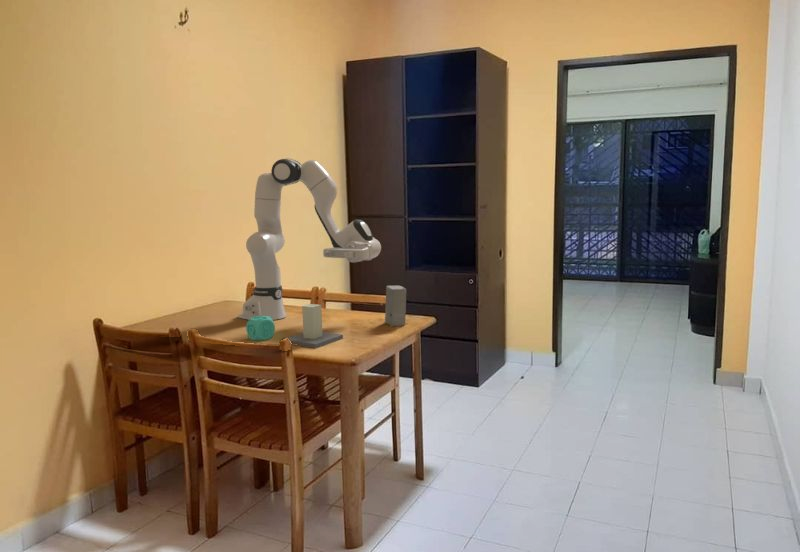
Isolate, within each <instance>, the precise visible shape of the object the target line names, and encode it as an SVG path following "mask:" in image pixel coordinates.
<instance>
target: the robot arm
mask: <svg viewBox="0 0 800 552" xmlns="http://www.w3.org/2000/svg"><path fill="white" fill-rule="evenodd" d="M299 182H301V183H302V184H303V185H304V186H305V187H306V188H307V189H308V191H309V192H310V193H311V196H312V197H313V200H314V211H315V213H316V215H317V218H318V219H319V221H320V222H321V224H322V226H323V228H324V230H325V232H326V234H327V235H328V237H329V239H330V242H331V245H332V247H328V248H323V251H322V252H323V254H322V255H323V257H324V258H332V259H346V260H347V261H348V262H350V263H358V262H363V261H366V262H367V261H372V260H373V259H374V258H376V257H378V256H379V255H380V253H381V251H382V245H381V243H380V241H379V240H378V239H376V238H375V237H374V236H373V231H372V228H371V227H370V226H369V224H368V223H367V222H365V220H364V221H363V220H361V219H354V220H353V221H351V222H350V223H348V224H347V225H346V226H345V227H343V228H342V229H341V230H340V229H339V227H338V225H337V223H336V221H335V219H334V217H333V215H332V208H333V207H332V206H333V204H334V202H335V200H336V198H337V195H338V185H337V183H336V182H335V180H334V179H333V177H332V176H331V175H330V174H329V172H328V171H327V170H326V169H325V168H324V167H323V166H322V164H320V163H319V162H318V161H317V160H314V159H308V160H306V161H305V162H303V163H300V162H299V161H298V160H296V159H292V158H281V159H278V160H276V161H275V162H274V163H273V164H272V166H271V172H264V173H261V174H259V176H258V177H257V181H256V185H255V193H254V213H253V214H254V218H255V220H256V223H257V229H258V231H256V232H253V233H252V234H251V235H250V236H249V237H248V238H247V239H246V243H245V245H246V246H245V247H246V250H247V252H248V253H249V255H250V257H251V262H252V264H253V270H254V278H255V279H254V282H255V286H254V287H252V288H251V290H250V291H251V292H252V295H251V296H250V297H249V298H248V299H247V300H246V301H245V302H244V303H243V305H242V313H241V312H240V313H239V314H237V318H239V319H242V320H243V319H244V320H247V321H248V320H249V319H250V318H252V317H256V316H269V317H270V318H271V319H272V320H273V321H275V320H280V319H285V318H286V317H287V314H286V310H285V305H284V300H283V286H282V280H281V267H280V266H279V264H278V260H277V258H276V254H277V253H279V252H280V251H281V250H282V249H283V247H284V246H285V242H286V241H285V236H284V234H283V229H282V224H281V223H282V222H281V204H282V203H281V200H282V199H281V198H282V189H283V187H285V186H290V185H294V184H297V183H299Z"/></svg>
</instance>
